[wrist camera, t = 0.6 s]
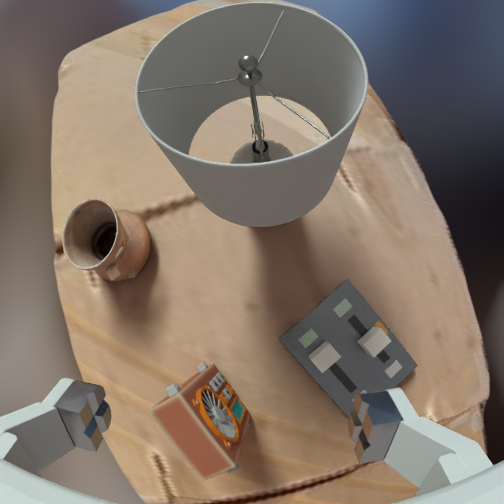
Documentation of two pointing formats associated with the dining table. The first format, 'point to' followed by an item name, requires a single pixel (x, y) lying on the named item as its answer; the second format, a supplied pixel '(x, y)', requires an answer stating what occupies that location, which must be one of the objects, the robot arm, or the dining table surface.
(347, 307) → the breaker box
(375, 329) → the block
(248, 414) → the control panel
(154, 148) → the dining table surface
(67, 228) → the ceramic jug
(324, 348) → the block
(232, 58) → the lamp
